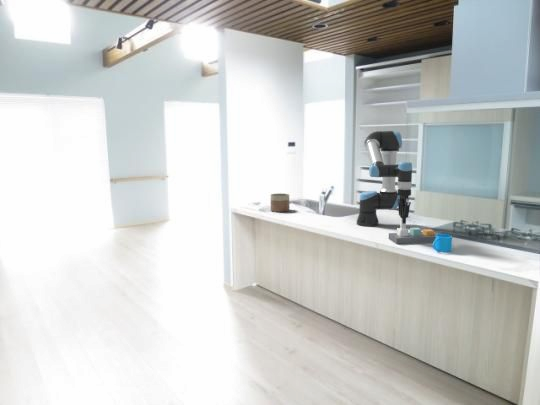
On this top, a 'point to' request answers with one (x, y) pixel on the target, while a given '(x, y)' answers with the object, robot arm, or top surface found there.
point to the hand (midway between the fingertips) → (402, 228)
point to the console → (412, 238)
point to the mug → (443, 243)
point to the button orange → (428, 232)
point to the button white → (402, 232)
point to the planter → (280, 202)
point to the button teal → (415, 231)
